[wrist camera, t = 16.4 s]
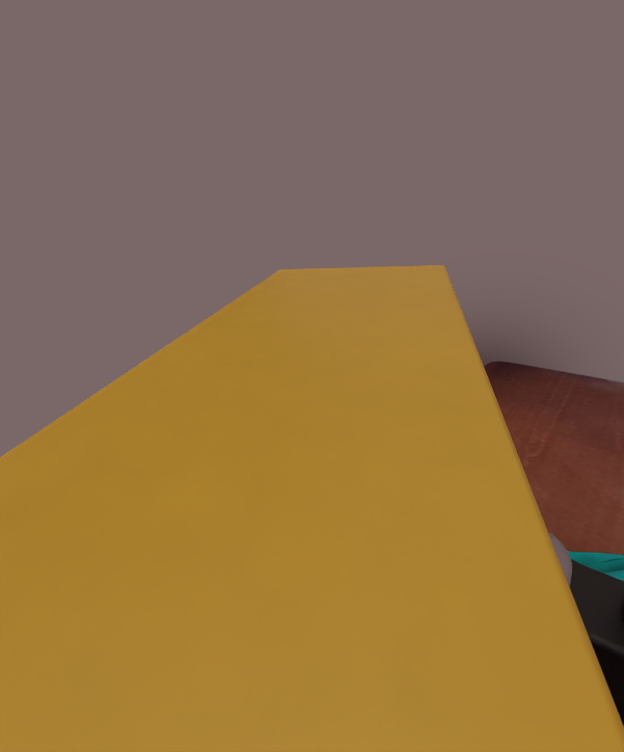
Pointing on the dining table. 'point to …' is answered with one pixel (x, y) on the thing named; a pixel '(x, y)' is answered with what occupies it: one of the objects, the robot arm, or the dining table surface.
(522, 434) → the dining table surface
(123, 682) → the block
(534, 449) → the dining table surface
